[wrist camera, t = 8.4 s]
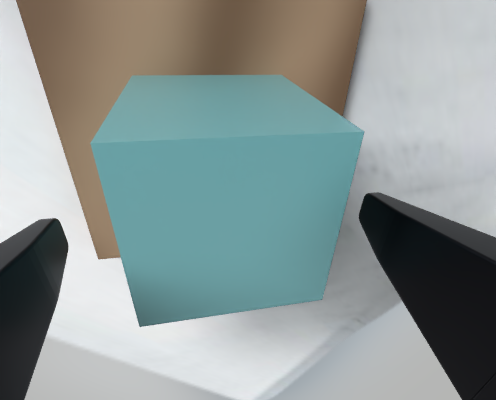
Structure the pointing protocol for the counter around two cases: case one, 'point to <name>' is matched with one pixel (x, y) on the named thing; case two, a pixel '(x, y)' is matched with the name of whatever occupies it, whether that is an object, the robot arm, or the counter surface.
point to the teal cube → (223, 192)
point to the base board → (176, 61)
